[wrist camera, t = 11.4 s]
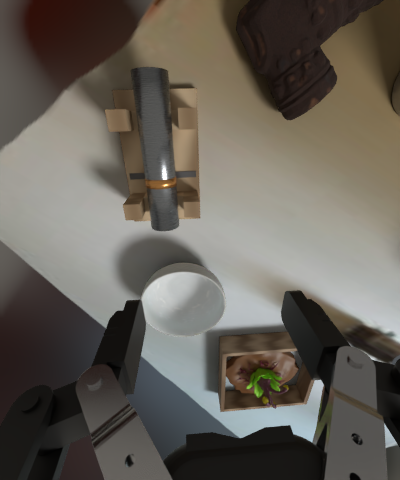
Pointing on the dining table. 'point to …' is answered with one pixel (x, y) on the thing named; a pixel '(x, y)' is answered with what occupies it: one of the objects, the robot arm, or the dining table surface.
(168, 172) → the tube
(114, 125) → the cradle board
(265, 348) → the planter box
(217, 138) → the dining table surface
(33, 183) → the dining table surface
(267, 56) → the dark brown boot
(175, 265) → the cereal bowl
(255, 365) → the plant
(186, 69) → the dining table surface
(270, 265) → the dining table surface
